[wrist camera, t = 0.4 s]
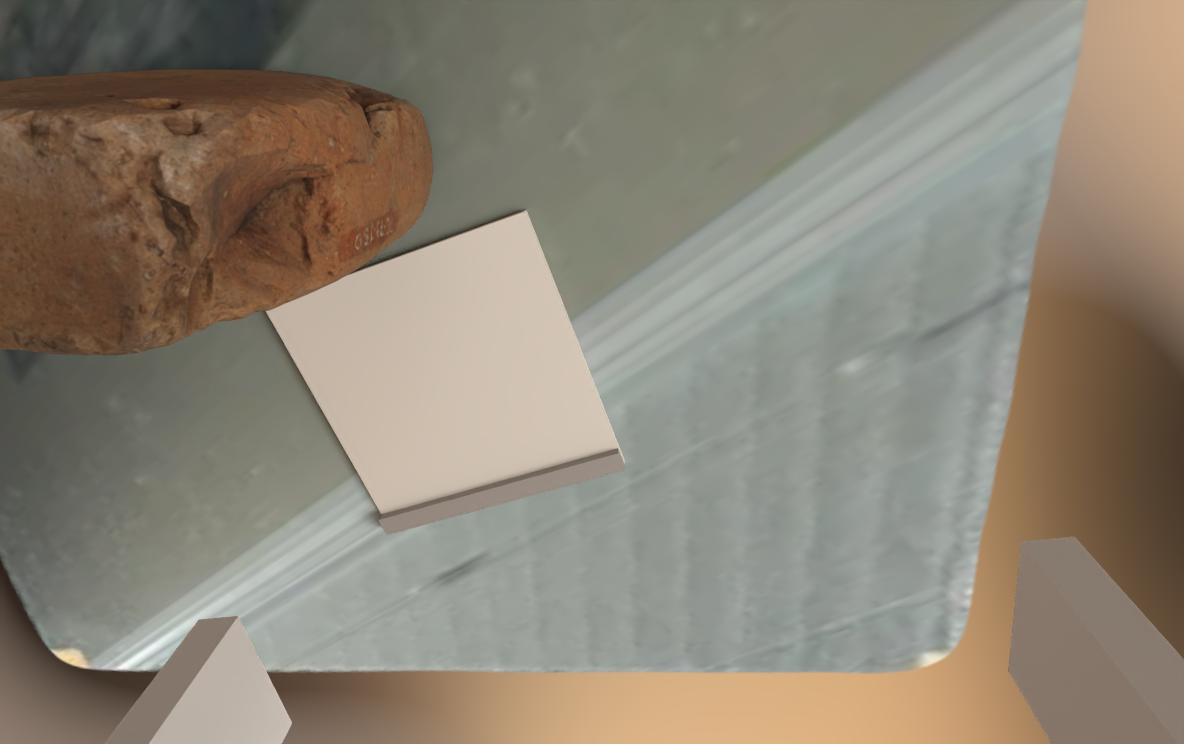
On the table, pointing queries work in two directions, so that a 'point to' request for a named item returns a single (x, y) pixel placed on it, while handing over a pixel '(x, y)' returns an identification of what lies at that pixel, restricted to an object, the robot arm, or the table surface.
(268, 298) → the raisin bread loaf
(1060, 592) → the robot arm
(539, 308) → the mat
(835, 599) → the table surface
